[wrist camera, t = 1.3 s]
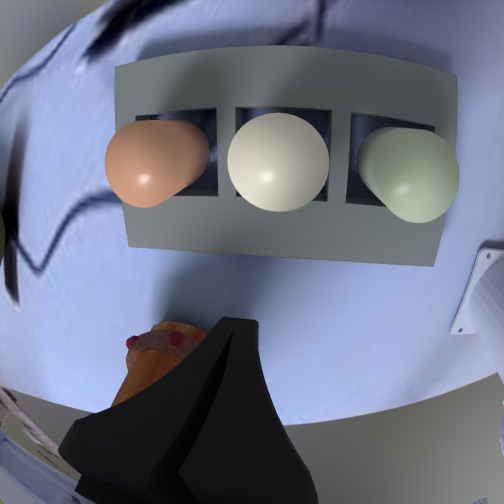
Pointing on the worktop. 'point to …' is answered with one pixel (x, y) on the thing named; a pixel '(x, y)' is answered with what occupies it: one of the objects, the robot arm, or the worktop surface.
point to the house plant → (3, 413)
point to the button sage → (409, 171)
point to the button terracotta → (155, 160)
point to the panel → (338, 145)
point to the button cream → (278, 162)
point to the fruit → (2, 237)
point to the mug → (156, 355)
